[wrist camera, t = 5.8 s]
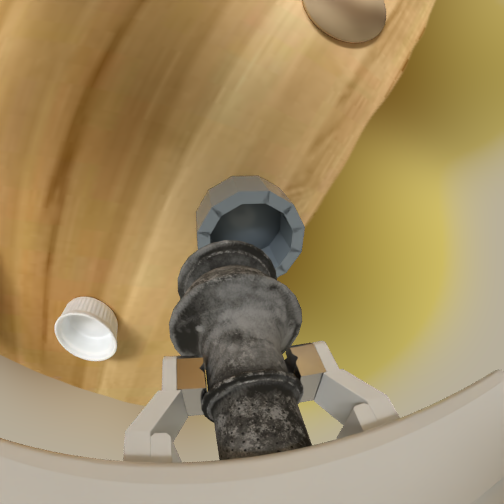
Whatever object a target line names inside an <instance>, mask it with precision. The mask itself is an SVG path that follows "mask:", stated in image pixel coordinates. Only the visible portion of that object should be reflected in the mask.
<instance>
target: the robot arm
mask: <svg viewBox="0 0 504 504" xmlns="http://www.w3.org/2000/svg"><path fill="white" fill-rule="evenodd" d="M286 355H287V359H285V360H284V361H285V364H286V366H287V369H288V372H289V374H292V375H294V376H295V377H296V378H298V379H299V380H300V382H301V383H302V385H303V396H302V399H301V401H300V402H305V401H310V400H314V401H315V402H316V403H317V404H318V405H320V406H321V407H322V408H323V409H325V410H326V411H327V412H328V413H329V414H330V415H332V416H333V417H334V418H335V419H337V420H338V421H339V422H340V423H341V424H343V425H344V426H343V428H342V430H341V431H340V433H339V435H338V436H337V439H336V440H332V441H328V442H324V443H321V444H317V445H312V446H308V447H303V448H299V449H294V450H289V451H284V452H278V453H273V454H267V455H260V456H253V457H246V458H238V459H228V460H218V461H205V462H204V461H203V462H183V463H182V462H181V459H180V457H179V455H178V453H177V450H176V448H175V446H174V443H173V442H174V440H175V438H176V436H177V435H178V433H179V431H180V430H181V428H182V426H183V425H184V423H185V421H186V419H187V418H188V416H193V415H204V414H203V412H202V410H201V401H202V399H203V397H204V395H205V393H206V392H207V389H206V378H205V369H204V361H203V355H195V356H164V358H163V368H162V390H161V391H157V393H156V394H155V395H154V396H153V398H152V399H151V400H150V401H149V403H148V404H147V405H146V406H145V407H144V409H143V410H142V411H141V413H140V414H139V415H138V416H137V417H136V419H135V420H134V421H133V422H132V423H131V425H130V426H129V427H128V428H127V430H126V431H125V441H124V458H123V461H115V460H104V459H96V458H87V457H81V456H74V455H68V454H63V453H57V452H52V451H47V450H43V449H39V448H34V447H30V446H26V445H23V444H19V443H15V442H12V441H8V440H5V439H2V438H0V504H504V371H502V370H495V371H493V372H492V373H490V374H488V375H487V376H485V377H483V378H482V379H480V380H478V381H476V382H475V383H473V384H471V385H470V386H467V387H466V388H464V389H462V390H460V391H458V392H456V393H454V394H452V395H450V396H448V397H446V398H444V399H442V400H440V401H439V402H436V403H434V404H432V405H430V406H427V407H425V408H423V409H421V410H418V411H416V412H414V413H411V414H409V415H407V416H404V417H402V418H400V417H399V416H398V414H397V412H396V410H395V409H394V407H393V405H392V403H391V401H390V400H389V398H388V396H387V395H386V394H384V393H382V392H381V391H379V390H377V389H375V388H374V387H372V386H370V385H369V384H367V383H365V382H364V381H362V380H360V379H359V378H357V377H355V376H354V375H352V374H350V373H349V372H347V371H345V370H344V369H339V368H338V366H337V363H336V362H335V360H334V358H333V356H332V354H331V352H330V350H329V348H328V346H327V344H326V342H324V341H319V342H313V343H306V344H300V345H294V346H288V347H287V349H286Z"/></svg>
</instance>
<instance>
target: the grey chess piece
mask: <svg viewBox="0 0 504 504" xmlns="http://www.w3.org/2000/svg"><path fill="white" fill-rule="evenodd" d="M178 293H179V296H180V301H179V302H178V304H177V305H176V306H175V308H174V309H173V312H172V316H171V319H170V322H169V328H170V338H171V340H172V343H173V345H174V347H175V349H176V350H177V351H178V352H179V354H180V355H181V356H195V355H203V361H204V369H205V370H206V375H207V384H208V392H206V393H205V395H204V397H203V399H202V401H201V410H202V412H203V414H204V415H205V417H207V418H208V419H209V420H210V421H212V422H214V423H215V431H216V439H217V445H218V451H219V459H220V460H228V459H238V458H246V457H253V456H260V455H267V454H273V453H278V452H284V451H289V450H294V449H299V448H303V447H308V446H312V444H311V442H310V439H309V436H308V433H307V430H306V427H305V424H304V421H303V419H302V416H301V413H300V410H299V407H298V404H299V402H300V401H301V399H302V396H303V385H302V383H301V382H300V380H299V379H298V378H296V377H295V376H294V375H292V374H289V372H288V369H287V366H286V364H285V361H284V358H283V355H282V354H283V353H284V352H285V351H286V349H287V347H288V346H291V345H292V343H293V342H294V340H295V338H296V337H297V335H298V333H299V330H300V327H301V323H302V312H301V307H300V305H299V303H298V300H297V298H296V296H295V295H294V294H293V293H292V292H291V290H290V289H289V288H288V287H287V286H286V285H284V284H282V283H280V282H279V281H277V276H276V270H275V268H274V265H273V263H272V261H271V259H270V258H269V257H268V256H267V255H266V254H265V253H264V251H262V250H261V249H259V248H257V247H256V246H254V245H253V244H249V243H246V242H242V241H236V240H224V241H219V242H214V243H210V244H208V245H206V246H204V247H202V248H200V249H198V250H197V251H196V252H195V253H193V254H192V255H191V256H190V257H189V258H188V259H187V260H186V262H185V263H184V265H183V266H182V268H181V271H180V274H179V277H178Z"/></svg>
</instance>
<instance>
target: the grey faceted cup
mask: <svg viewBox="0 0 504 504" xmlns="http://www.w3.org/2000/svg"><path fill="white" fill-rule="evenodd" d="M196 221H197V241H198V249H200V248H202V247H204V246H206V245H208V244H210V243H214V242H219V241H224V240H236V241H242V242H246V243H249V244H253V245H254V246H256V247H257V248H259V249H261V250H262V251H264V253H265V254H266V255H267V256H268V257H269V258H270V259H271V261H272V263H273V265H274V268H275V270H276V276H277V277H279V276H281V275H283V274H284V273H286V272H287V271H288V269H289V268H290V267H291V265H292V264H293V263H294V261H295V260H296V259H297V257H298V256H299V255H300V253H301V251H302V244H303V237H304V229H305V227H304V225H303V223H302V221H301V219H300V217H299V215H298V212H297V210H296V208H295V206H294V204H293V203H292V202H291V201H290V200H289V198H288V197H287V196H286V195H285V194H284V193H283V191H282V190H281V189H280V188H279V187H277V186H275V185H274V184H272V183H270V182H268V181H267V180H265V179H263V178H261V177H260V176H231V177H230V178H228V179H226V180H224V181H223V182H221V183H219V184H218V185H216V186H214V187H213V188H211V189H209V190H208V192H207V194H206V195H205V197H204V199H203V201H202V202H201V204H200V206H199V208H198V209H197V211H196Z"/></svg>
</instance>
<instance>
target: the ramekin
mask: <svg viewBox="0 0 504 504" xmlns="http://www.w3.org/2000/svg"><path fill="white" fill-rule="evenodd" d="M117 330H118V323H117V319H116V317H115V314H114V313H113V311H112V310H111V309H110V308H109V307H108V306H107V305H106V304H104V303H103V302H101V301H99V300H97V299H95V298H91V297H78V298H75V299H73V300H71V301H70V302H69V303H68V304H67V306H66V307H65V309H64V311H63V313H62V314H61V316H60V317H59V318H58V319H57V321H56V323H55V334H56V337H57V339H58V341H59V342H60V344H61V345H62V346H63V347H64V348H65V349H66V350H67V351H69V352H70V353H71V354H73V355H75V356H77V357H79V358H82V359H85V360H90V361H103V360H106V359H108V358H110V357H112V356H113V355H114V354H115V352H116V350H117Z"/></svg>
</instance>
